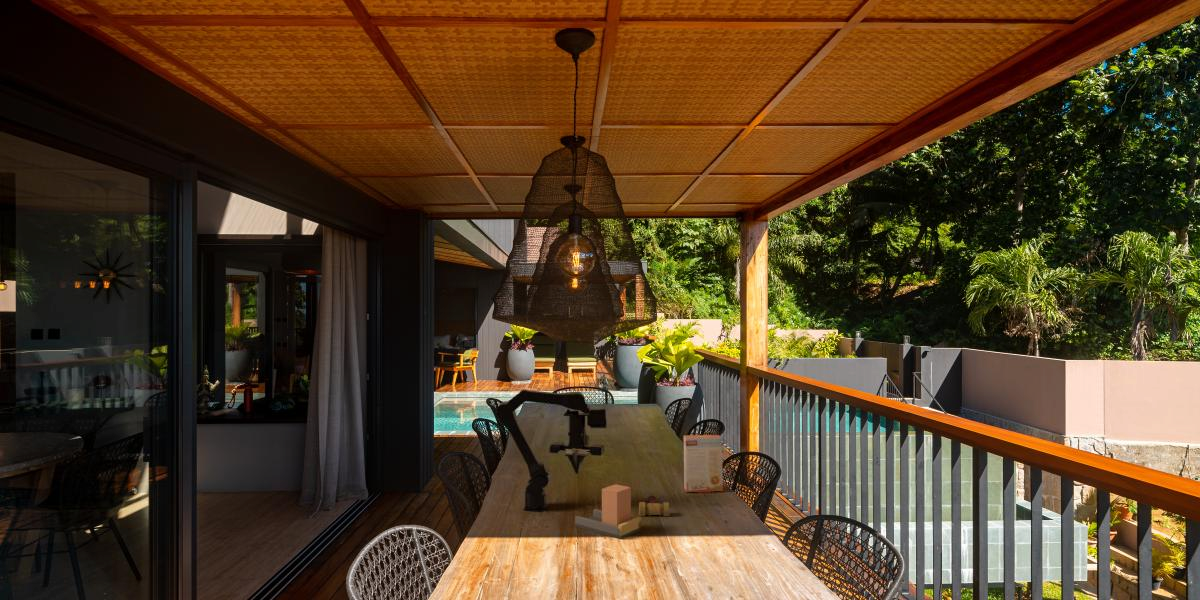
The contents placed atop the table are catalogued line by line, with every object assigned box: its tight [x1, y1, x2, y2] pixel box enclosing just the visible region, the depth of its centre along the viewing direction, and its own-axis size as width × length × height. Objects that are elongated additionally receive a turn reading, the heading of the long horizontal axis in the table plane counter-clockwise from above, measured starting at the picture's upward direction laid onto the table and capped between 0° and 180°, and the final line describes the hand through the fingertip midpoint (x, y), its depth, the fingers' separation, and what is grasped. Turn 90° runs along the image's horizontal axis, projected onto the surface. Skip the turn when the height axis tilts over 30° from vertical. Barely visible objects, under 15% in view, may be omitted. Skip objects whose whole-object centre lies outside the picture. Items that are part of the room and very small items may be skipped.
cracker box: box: [683, 434, 724, 493], centre depth 247 cm, size 14×6×21 cm, turn 92°
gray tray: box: [574, 508, 642, 540], centre depth 204 cm, size 18×10×4 cm, turn 51°
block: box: [601, 484, 632, 527], centre depth 202 cm, size 6×7×12 cm
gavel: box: [638, 494, 671, 517], centre depth 226 cm, size 21×5×10 cm
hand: (577, 473), depth 225 cm, fingers closed
